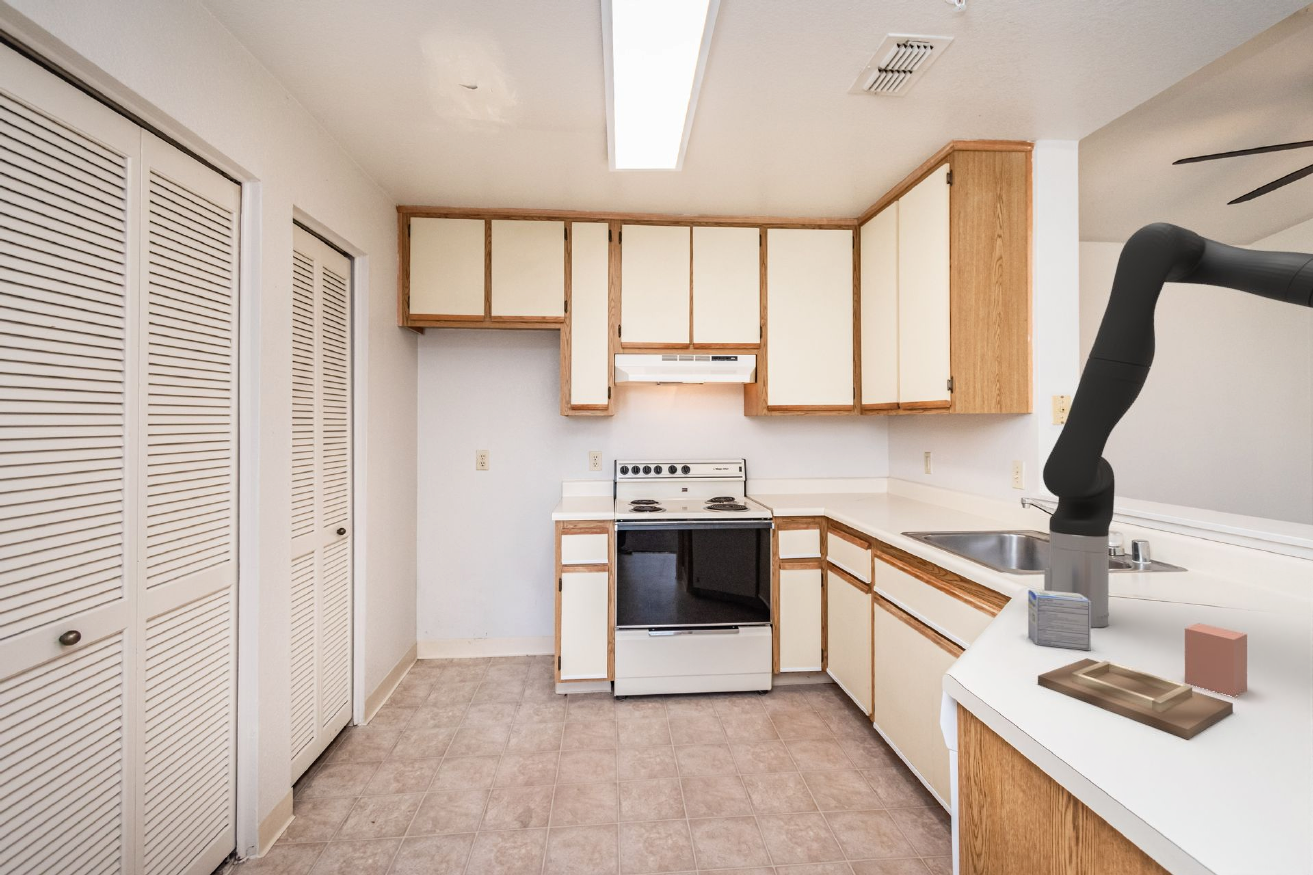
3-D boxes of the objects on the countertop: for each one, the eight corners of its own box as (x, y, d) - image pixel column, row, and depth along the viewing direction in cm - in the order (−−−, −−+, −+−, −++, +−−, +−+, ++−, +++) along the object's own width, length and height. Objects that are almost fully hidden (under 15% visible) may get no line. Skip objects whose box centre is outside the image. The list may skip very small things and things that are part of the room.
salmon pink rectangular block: (1184, 683, 77) (1184, 628, 78) (1198, 676, 80) (1198, 623, 80) (1233, 697, 73) (1233, 639, 73) (1247, 690, 75) (1247, 633, 75)
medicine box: (1080, 642, 93) (1080, 593, 93) (1091, 651, 89) (1091, 600, 89) (1027, 636, 96) (1027, 588, 96) (1036, 645, 91) (1036, 595, 92)
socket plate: (1037, 683, 77) (1037, 667, 77) (1086, 665, 83) (1087, 650, 83) (1187, 739, 62) (1187, 719, 62) (1232, 712, 69) (1232, 693, 69)
